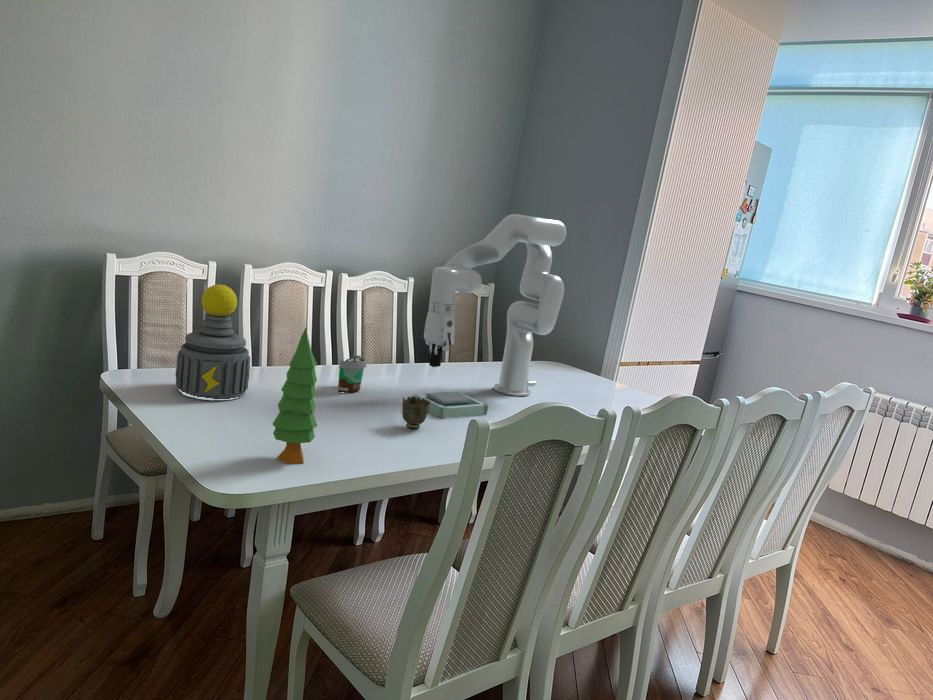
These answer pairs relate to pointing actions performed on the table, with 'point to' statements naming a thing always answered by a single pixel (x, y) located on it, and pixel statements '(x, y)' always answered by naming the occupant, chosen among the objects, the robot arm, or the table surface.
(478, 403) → the bay
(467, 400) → the gray rectangular block
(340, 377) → the food container
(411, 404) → the cup
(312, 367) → the decorative tree
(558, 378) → the table surface
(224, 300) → the decorative lamp
